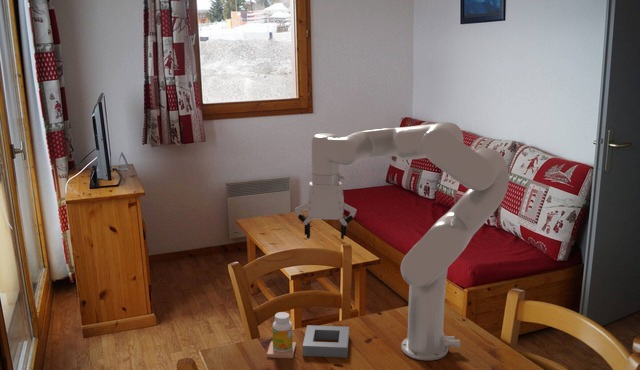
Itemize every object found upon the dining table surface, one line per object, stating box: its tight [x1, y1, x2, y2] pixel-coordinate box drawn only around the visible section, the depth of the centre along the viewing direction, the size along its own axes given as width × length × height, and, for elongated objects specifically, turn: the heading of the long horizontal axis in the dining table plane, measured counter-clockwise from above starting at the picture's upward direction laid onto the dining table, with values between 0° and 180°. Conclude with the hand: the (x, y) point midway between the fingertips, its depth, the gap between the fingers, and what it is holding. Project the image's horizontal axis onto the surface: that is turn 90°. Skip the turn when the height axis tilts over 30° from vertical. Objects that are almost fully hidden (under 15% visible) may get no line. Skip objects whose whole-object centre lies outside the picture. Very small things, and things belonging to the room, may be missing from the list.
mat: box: [266, 340, 297, 359], centre depth 177 cm, size 7×7×1 cm
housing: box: [302, 324, 350, 359], centre depth 179 cm, size 12×12×3 cm
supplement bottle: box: [272, 311, 293, 352], centre depth 175 cm, size 5×5×10 cm
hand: (325, 237), depth 182 cm, fingers open, 9 cm apart
